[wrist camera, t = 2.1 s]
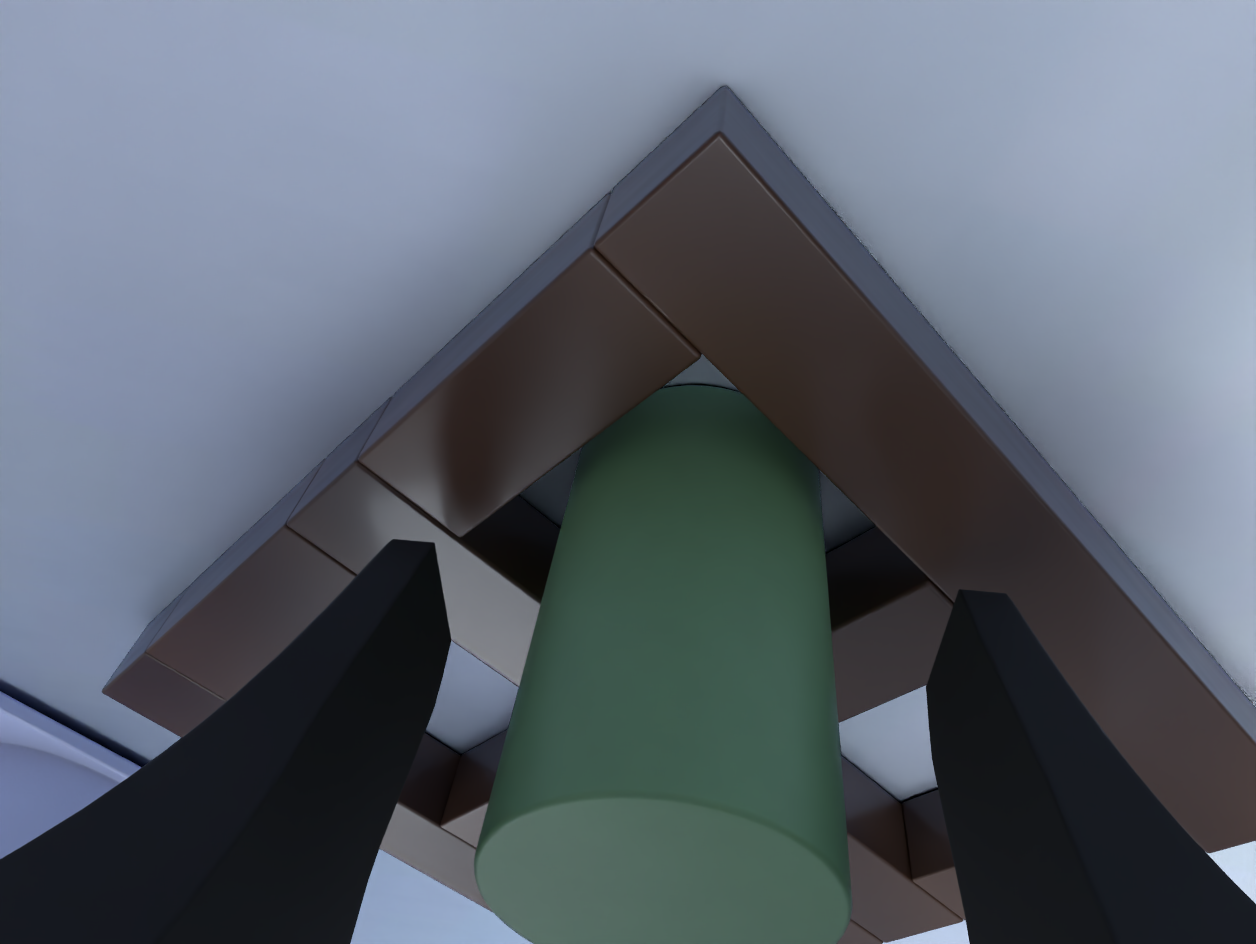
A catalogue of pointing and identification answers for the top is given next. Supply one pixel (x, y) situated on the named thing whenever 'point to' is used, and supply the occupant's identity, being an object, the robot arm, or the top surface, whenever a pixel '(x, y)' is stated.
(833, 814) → the green peg
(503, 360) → the rack
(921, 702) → the top surface
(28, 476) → the top surface
